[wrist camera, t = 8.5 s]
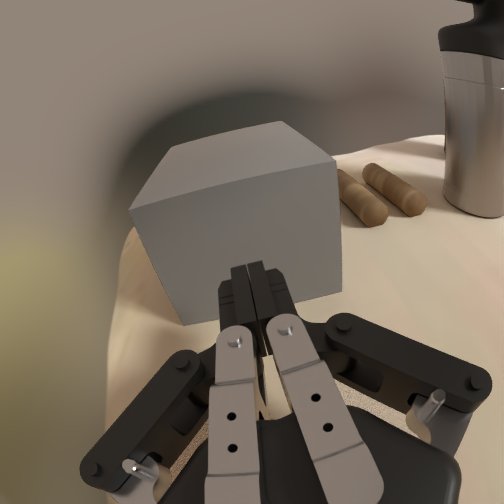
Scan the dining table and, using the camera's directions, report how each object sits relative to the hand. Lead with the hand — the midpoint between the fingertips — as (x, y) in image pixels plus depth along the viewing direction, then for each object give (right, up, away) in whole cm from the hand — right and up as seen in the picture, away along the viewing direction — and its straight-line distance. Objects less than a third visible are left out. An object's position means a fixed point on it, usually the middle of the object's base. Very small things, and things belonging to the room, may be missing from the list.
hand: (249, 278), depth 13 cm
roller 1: (+10, +8, +16) cm, 20 cm away
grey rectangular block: (0, +1, +14) cm, 14 cm away
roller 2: (+16, +10, +16) cm, 24 cm away
